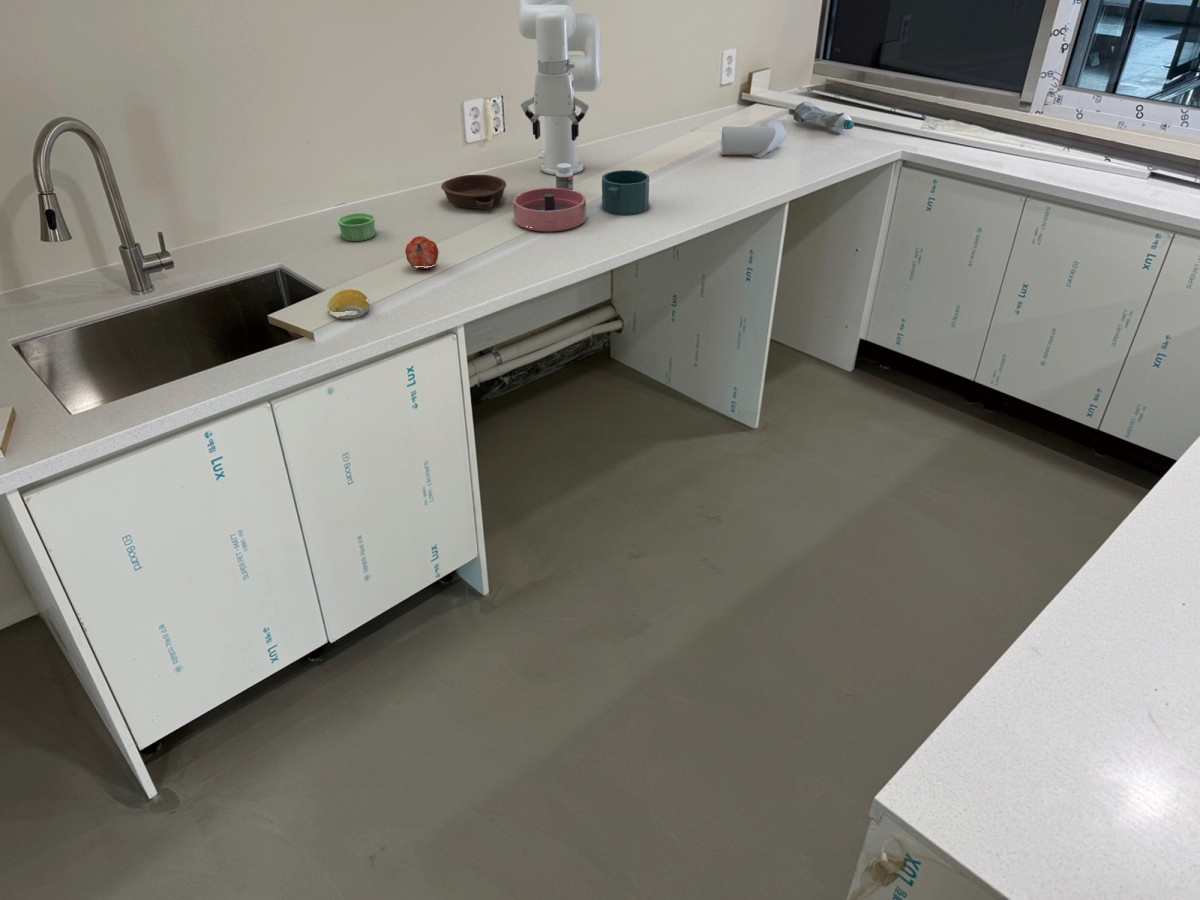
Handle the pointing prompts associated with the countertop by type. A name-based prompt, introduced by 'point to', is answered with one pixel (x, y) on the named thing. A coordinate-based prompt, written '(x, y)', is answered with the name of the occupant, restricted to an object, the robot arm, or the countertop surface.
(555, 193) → the bowl
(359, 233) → the ramekin
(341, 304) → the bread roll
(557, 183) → the pill bottle
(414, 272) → the countertop surface
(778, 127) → the bent grey cylinder
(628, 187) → the pot
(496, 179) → the dish
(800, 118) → the crushed plastic bottle
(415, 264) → the pomegranate
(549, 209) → the lid
